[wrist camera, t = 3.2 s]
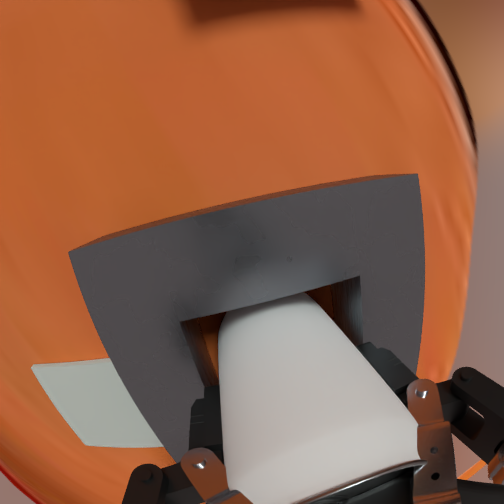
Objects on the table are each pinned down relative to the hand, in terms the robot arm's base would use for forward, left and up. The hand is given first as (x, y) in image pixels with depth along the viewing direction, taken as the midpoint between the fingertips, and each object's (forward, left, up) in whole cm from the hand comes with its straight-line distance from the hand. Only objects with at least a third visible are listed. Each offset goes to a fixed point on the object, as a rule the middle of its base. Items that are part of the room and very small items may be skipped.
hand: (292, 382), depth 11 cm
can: (0, 0, -5) cm, 5 cm away
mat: (-14, -4, -5) cm, 15 cm away
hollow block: (0, 0, -5) cm, 5 cm away
